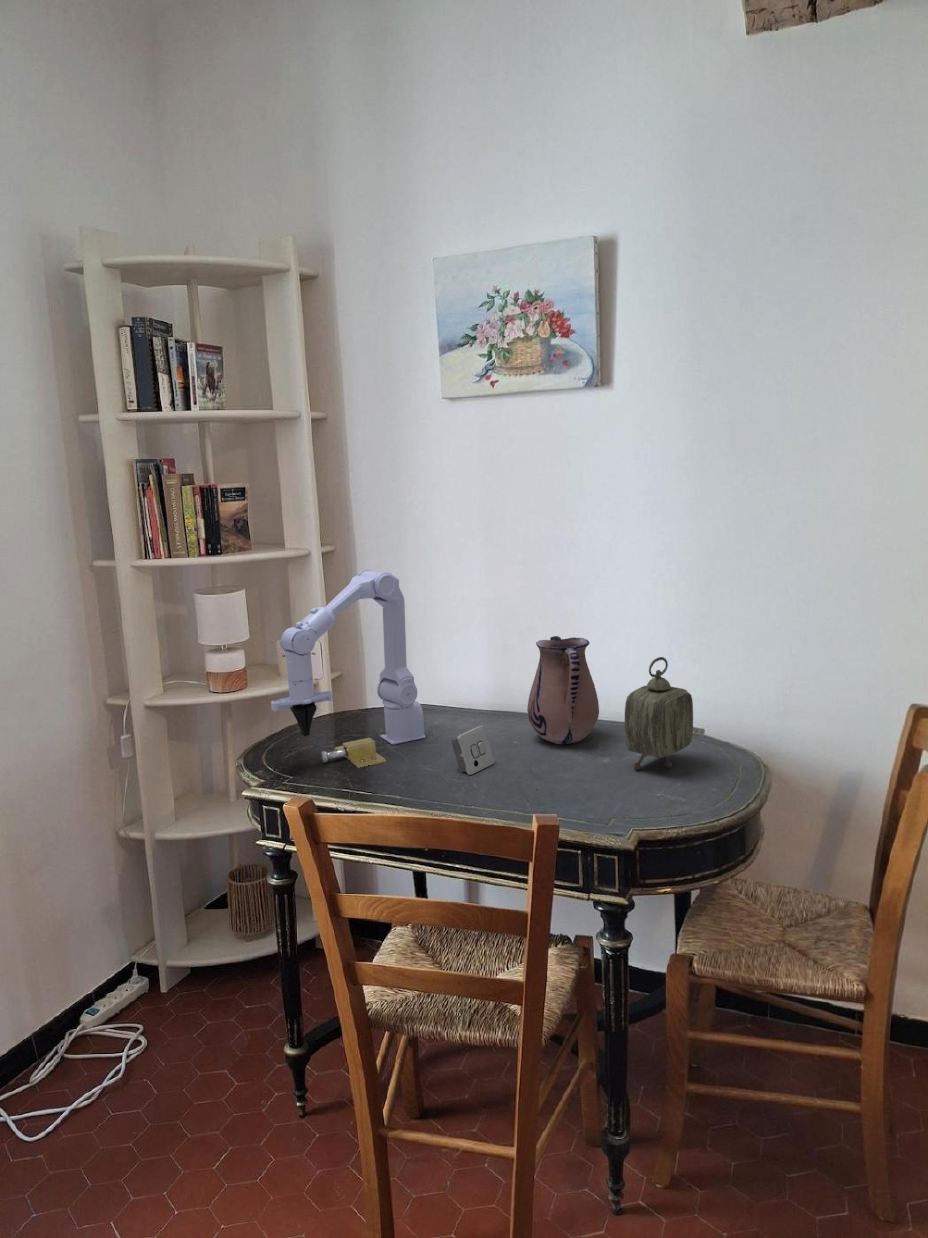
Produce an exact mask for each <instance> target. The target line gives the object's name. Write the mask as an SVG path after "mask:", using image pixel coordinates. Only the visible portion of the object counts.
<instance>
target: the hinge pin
mask: <svg viewBox="0 0 928 1238" xmlns="http://www.w3.org/2000/svg"><path fill="white" fill-rule="evenodd" d="M346 755H348V751H347V749H343V750H338V751H336V750H333V751H329V752H327V751H326V750H325V751H324V750H323V751H321V759H322V761H323V763H327V762H329V760H331V759H337V758H341V757H344V756H346Z"/></svg>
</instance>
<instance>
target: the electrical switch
mask: <svg viewBox="0 0 928 1238" xmlns="http://www.w3.org/2000/svg"><path fill="white" fill-rule="evenodd" d="M450 741H451V745H452V749H453V751H454V755H455V760H456V762H457V766H458V769H459V772H460V773H467V774H468V776H470V775H474V774H476V773H478V772H479V771H482V770H484V769H486V768H488V767H491V765H494V764H495V757H494V754H493V750H492V746H491V743H490V739H489V736H488V733H487V730H486V726H484V725H479V726H476V727H474V728H472V729H470V730H467V731H466V732H464V733H463V732H462V733H461V734H458V735H457V737H454V738H452V739H451V740H450Z"/></svg>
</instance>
